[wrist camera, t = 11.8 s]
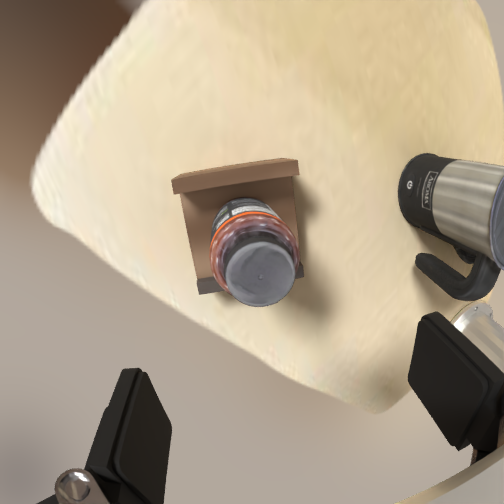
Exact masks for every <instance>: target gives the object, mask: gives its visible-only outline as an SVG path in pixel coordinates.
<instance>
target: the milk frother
mask: <svg viewBox="0 0 504 504" xmlns="http://www.w3.org/2000/svg"><path fill="white" fill-rule="evenodd" d="M398 198H399V204H400V208H401V211H402V213H403V215H404V217H405V218H406V219H407V220H408V222H409V223H411V224H412V225H413V226H415V227H417V228H420V229H421V230H423V231H425V232H427V233H429V234H431V235H434V236H436V237H438V238H440V239H441V240H444V241H446V242H448V243H450V244H452V245H453V246H454V248H455V250H456V252H457V254H458V255H459V257H460V258H461V259H462V260H463V261H464V262H466V263H468V264H473V263H474V265H473V267H472V270H471V272H470V274H469V276H468V277H467V278H465V277H464V276H463V275H461V274H460V273H459V272H457V271H456V270H454V269H453V268H451V267H450V266H449V265H447V264H446V263H444V262H443V261H441V260H440V259H438V258H437V257H435V256H434V255H432V254H427V253H419V254H418V255H416V260H415V264H416V266H417V267H418V268H419V269H420V270H421V271H422V272H423V273H424V274H426V275H427V276H428V277H429V278H430V279H431V280H432V281H434V282H435V283H436V284H437V285H438V286H439V287H441V288H442V289H443V290H444V291H445V292H446V293H448V294H449V295H450V296H451V297H453V298H455V299H458V300H463V301H475V300H478V299H481V298H483V297H485V296H486V295H487V294H488V293H489V292H490V291H491V290H492V288H493V287H494V285H495V283H496V281H497V278H498V275H499V273H500V270H501V269H502V270H504V166H500V165H494V164H488V163H481V162H474V161H466V160H458V159H451V158H444V157H439V156H437V155H435V154H430V153H424V154H420V155H418V156H416V157H414V158H413V159H411V160H410V161H409V162H408V164H407V165H406V166H405V168H404V170H403V172H402V174H401V177H400V181H399V187H398Z"/></svg>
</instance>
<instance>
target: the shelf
mask: <svg viewBox="0 0 504 504" xmlns="http://www.w3.org/2000/svg"><path fill="white" fill-rule="evenodd" d="M295 175H299V167H298V160H293V159H286V158H280V159H272V160H264V161H257V162H249V163H243V164H236V165H229V166H223V167H217V168H211V169H205V170H200V171H194V172H189V173H184V174H180V175H179V176H177V177H175V178H173V179H172V180H171V181H172V187H173V192H174V194H180V197H181V203H182V208H183V213H184V218H185V223H186V228H187V233H188V238H189V243H190V248H191V252H192V257H193V261H194V266H195V271H196V275H197V287H198V291H199V295H201V294H207V293H213V292H220V291H225V290H224V289H223V288H222V287H221V286H220V285H219V284H218V283H217V281H216V279H215V278H214V276H213V273H212V270H211V266H210V259H209V254H210V241H211V231H212V224H213V221H214V218H215V216H216V214H217V212H218V211H219V209H220V208H221V207H222V206H223V205H225V204H226V203H227V202H229V201H231V200H233V199H236V198H240V197H251V198H256V199H259V200H261V201H263V202H264V203H265V204H267V205H268V206H269V207H270V208H271V209H272V210H273V211H274V212H275V213H276V214H277V215H278V216H279V217H280V218H281V219H282V221H283V222H284V223H285V224H286V225H287V226H288V227H289V229H290V230H291V231H292V233H293V234H294V236H295V238H296V241H297V243H298V246H299V241H298V230H297V221H296V211H295V202H294V193H293V184H292V176H295ZM302 277H304V272H303V265H302V263H301V262H300V260H299V266H298V269H297V272H296V275H295V279H296V278H302Z"/></svg>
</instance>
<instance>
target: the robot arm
mask: <svg viewBox="0 0 504 504" xmlns="http://www.w3.org/2000/svg"><path fill="white" fill-rule="evenodd" d="M408 382H409V384H410V386H411V387H412V389H413V390H414V392H415V393H416V395H417V396H418V398H419V399H420V400H421V402H422V403H423V405H424V406H425V408H426V409H427V411H428V412H429V414H430V415H431V417H432V418H433V420H434V421H435V423H436V424H437V426H438V427H439V429H440V430H441V432H442V433H443V435H444V436H445V438H446V439H447V441H448V442H449V444H450V445H451V446H455V447H456V449H457V450H458V451H459V450H461V449H463V448H465V447H466V446H468V445H470V443H471V445H472V446H473V453H472V458H471V464H470V466H469V467H468V468H466V469H464V470H463V471H461V472H459V473H457V474H456V475H454V476H452V477H451V478H449V479H447V480H445V481H443V482H441V483H439V484H437V485H435V486H433V487H431V488H429V489H427V490H425V491H422V492H420V493H418V494H416V495H414V496H411V497H409V498H407V499H404V500H402V501H400V502H397V503H395V504H504V328H503V327H502V326H500V325H499V324H498V323H497V322H495V321H494V320H493V311H492V309H491V307H490V305H489V304H487V303H486V302H484V301H476V302H473V303H471V304H469V305H467V306H466V307H465V308H463V309H462V310H461V311H460V312H459V313H458V314H457V315H456V316H455V317H454V319H453V320H452V321H451V322H449V321H448V320H447V319H446V318H445V317H444V316H443V315H441V314H440V313H439V312H433V313H430V314H427V315H424V316H423V317H422V318H421V321H419V323H418V327H417V333H416V339H415V344H414V350H413V355H412V360H411V364H410V369H409V373H408ZM171 434H172V426H171V422H170V420H169V418H168V416H167V414H166V412H165V410H164V409H163V406H162V404H161V402H160V400H159V398H158V396H157V394H156V392H155V390H154V387H153V385H152V383H151V381H150V378H149V376H148V374H147V373H146V372H142V370H141V369H140V368H129V369H123V370H122V372H121V374H120V377H119V379H118V382H117V384H116V387H115V390H114V392H113V395H112V398H111V400H110V403H109V406H108V407H107V408H106V409H105V411H104V413H103V416H102V418H101V421H100V424H99V427H98V430H97V432H96V436H95V438H94V441H93V445H92V447H91V450H90V453H89V456H88V459H87V462H86V466H85V469H80V468H72V469H69V470H66V471H65V472H63V473H62V474H61V475H60V476H59V477H58V478H57V480H56V482H55V488H54V490H55V495H52V496H51V497H49V498H47V499H45V500H43V501H41V502H39V503H37V504H163V503H164V494H165V484H166V474H167V466H168V457H169V450H170V441H171Z"/></svg>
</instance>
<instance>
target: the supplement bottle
mask: <svg viewBox="0 0 504 504" xmlns="http://www.w3.org/2000/svg"><path fill="white" fill-rule="evenodd" d="M209 259H210V266H211V270H212V273H213V276H214V278H215V279H216V281H217V283H218V284H219V285H220V286H221V287H222V288H223V289H224V290H225V291H226V292H228V293H229V294H231V295H233V296H234V297H235V298H236V299H237V300H238V301H240V302H241V303H243V304H246V305H249V306H254V307H264V306H269V305H272V304H275V303H277V302H278V301H280V300H281V299H283V298H284V297H285V296H286V295H287V294H288V293H289V291H290V289H291V288H292V286H293V283H294V280H295V275H296V272H297V269H298V266H299V260H300V251H299V246H298V243H297V241H296V238H295V236H294V234H293V233H292V231H291V230H290V229H289V227H288V226H287V225H286V224H285V223H284V222H283V221H282V219H281V218H280V217H279V216H278V215H277V214H276V213H275V212H274V211H273V210H272V209H271V208H270V207H269V206H268V205H267V204H265V203H264V202H263V201H261V200H259V199H256V198H251V197H240V198H236V199H233V200H231V201H229V202H227V203H226V204H225V205H223V206H222V207H221V208H220V209H219V211H218V212H217V214H216V216H215V218H214V221H213V224H212V231H211V241H210V254H209Z"/></svg>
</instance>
